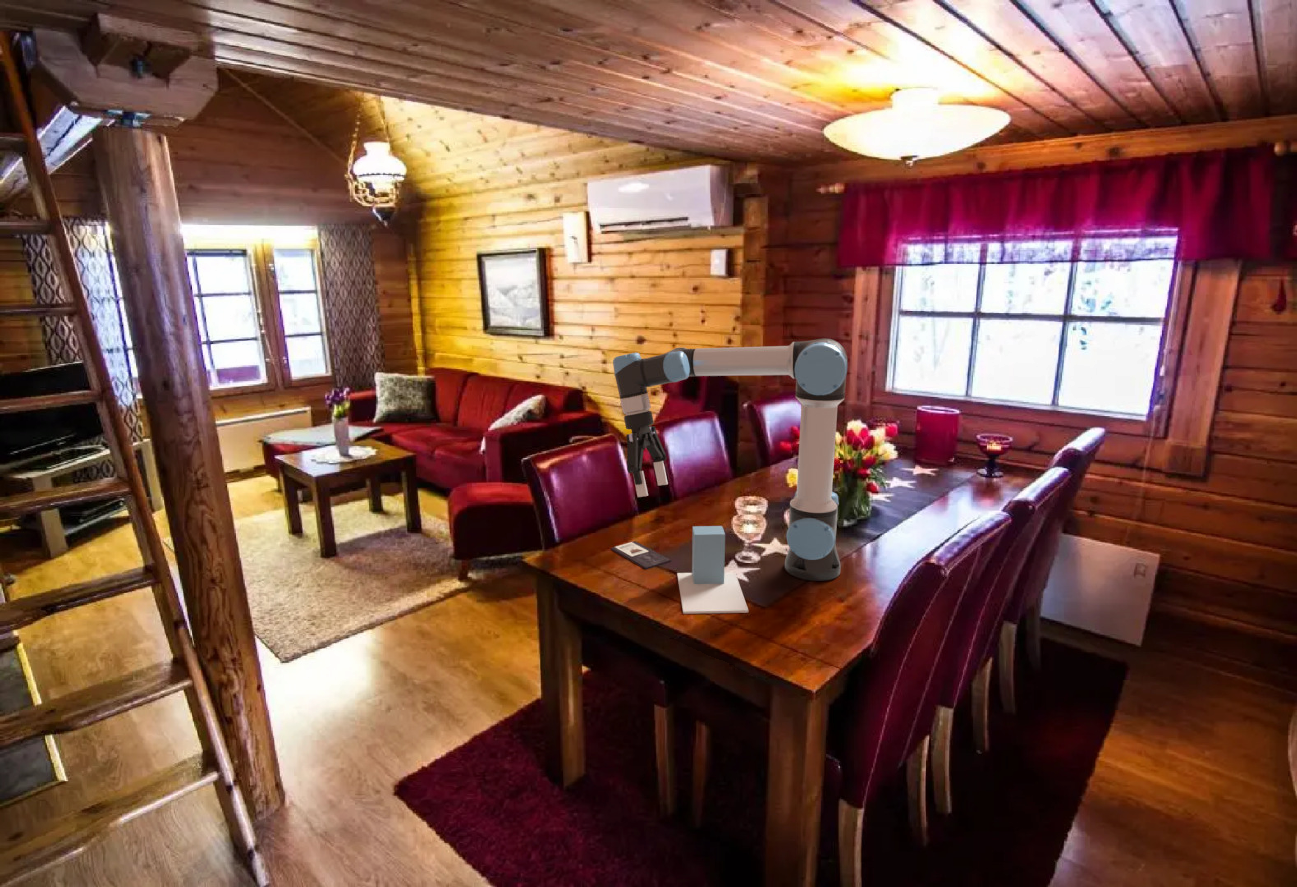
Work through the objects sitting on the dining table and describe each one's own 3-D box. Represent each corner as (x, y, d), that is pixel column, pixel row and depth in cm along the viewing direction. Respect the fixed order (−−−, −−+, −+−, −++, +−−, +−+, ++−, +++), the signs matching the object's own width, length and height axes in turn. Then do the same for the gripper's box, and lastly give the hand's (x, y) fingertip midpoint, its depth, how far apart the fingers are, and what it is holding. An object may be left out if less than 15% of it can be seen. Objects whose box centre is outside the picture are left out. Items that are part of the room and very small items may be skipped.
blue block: (721, 573, 186) (722, 526, 183) (724, 583, 181) (725, 534, 177) (692, 574, 186) (692, 526, 183) (694, 584, 180) (694, 534, 177)
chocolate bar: (646, 567, 191) (610, 548, 205) (646, 571, 191) (610, 550, 205) (671, 559, 196) (635, 541, 210) (671, 562, 196) (635, 543, 210)
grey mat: (735, 574, 188) (735, 572, 187) (748, 612, 166) (748, 610, 166) (677, 575, 187) (677, 573, 187) (683, 613, 166) (683, 611, 166)
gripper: (643, 409, 192) (658, 482, 194) (603, 420, 170) (620, 503, 171) (667, 404, 189) (682, 478, 191) (629, 416, 166) (647, 499, 168)
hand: (653, 490), depth 181 cm, fingers open, 13 cm apart
